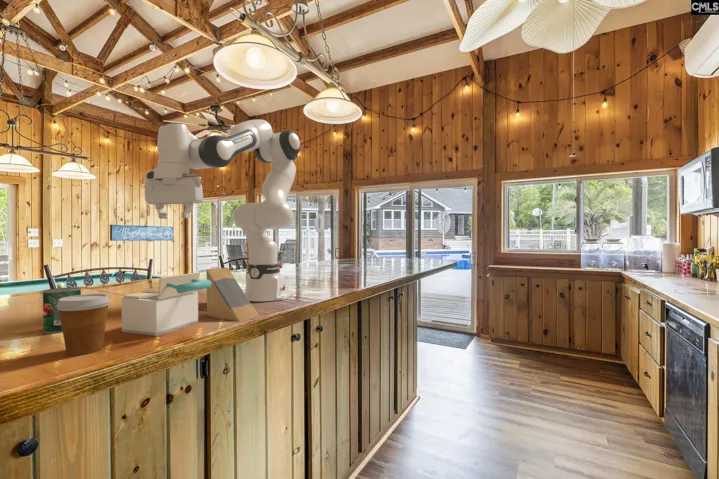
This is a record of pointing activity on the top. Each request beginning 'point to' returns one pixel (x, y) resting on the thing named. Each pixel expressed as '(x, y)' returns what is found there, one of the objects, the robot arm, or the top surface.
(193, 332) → the top surface
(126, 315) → the white carton
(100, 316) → the disposable coffee cup
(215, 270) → the sandwich container
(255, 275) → the robot arm
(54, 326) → the canned tomato
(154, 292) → the back flap
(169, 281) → the front flap
